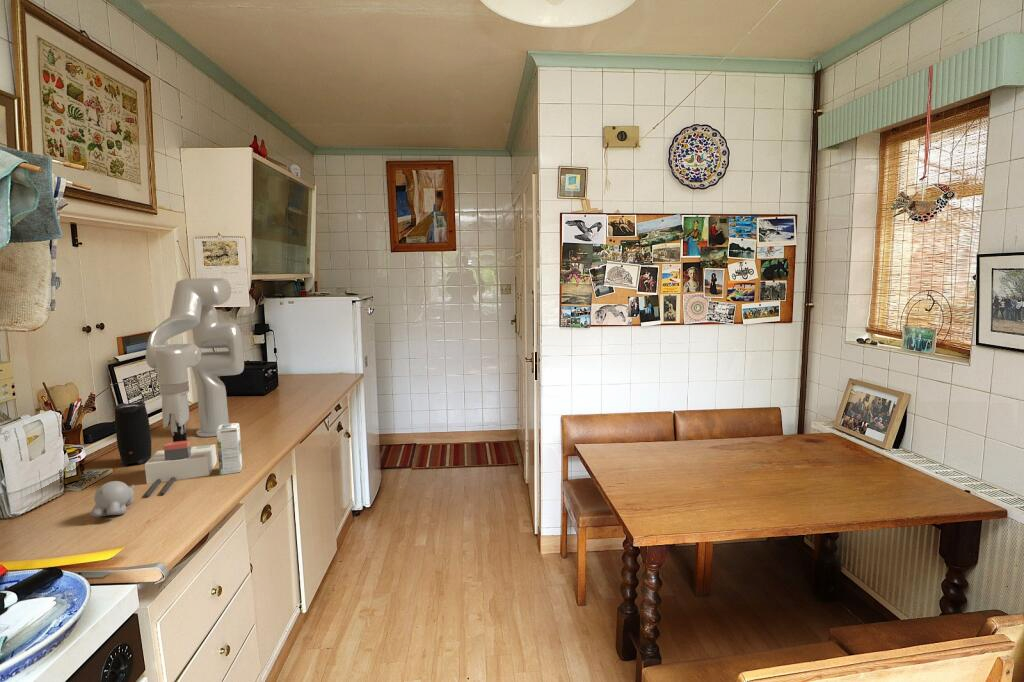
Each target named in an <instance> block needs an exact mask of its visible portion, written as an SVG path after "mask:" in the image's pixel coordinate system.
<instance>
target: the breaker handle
mask: <svg viewBox="0 0 1024 682" xmlns="http://www.w3.org/2000/svg"><path fill="white" fill-rule="evenodd" d="M190 447H191V441H190V439H187V441H178V442H173V441H170V442H166V443H165V444H164V445H163V450H164V454H165V460H171V459H179V458H187V457H189V456H190V455H191V449H190Z"/></svg>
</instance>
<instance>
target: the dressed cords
mask: <svg viewBox="0 0 1024 682" xmlns="http://www.w3.org/2000/svg"><path fill="white" fill-rule="evenodd" d="M175 481H176V480H175V477H172V478H171V479H170V480H169V481H167V483H166V484H165V485H164V487H163V488H162V489H161V490H160V492H159V494H160V495H161V496H164V495H165V494H166V493H167V492H168V490H169V488H170V487H171V486H172V485H173V483H174V482H175ZM161 483H162V482H161V479H157V480H156V482H155V483H152V485H151V486H150V487H149V489H148V490H147V491H146V493H145V494H144V497H145V498H149V497H150V496H151V495H152V494H153V493H154V491H155V489H157V487H158V486H159V485H160V484H161Z"/></svg>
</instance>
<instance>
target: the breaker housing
mask: <svg viewBox="0 0 1024 682" xmlns="http://www.w3.org/2000/svg"><path fill="white" fill-rule="evenodd" d="M190 449H191V455H190V456H189V457H187V458H179V459H171V460H165V454H164V449H163V450H156V451H155V453H154V454H152V455H151V458H150V459H149V460H148V461H147V462H146V463H144V469H145V470H144V471H145V472H144V473H145V479H146V484H148V485H149V484H154V483H155V482H156V480H157V479H161V482H160V483H163V482H168V481H169V480H170V479H171V478H172V477H175V481H178V480H185V479H194V478H200V477H201V478H202V477H209V476H210V474H212V471H213V470H214V468H215V466H216V464H217V463H218V459H217V446H216V444H215V443H214V444H206V445H198V446H190Z"/></svg>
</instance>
